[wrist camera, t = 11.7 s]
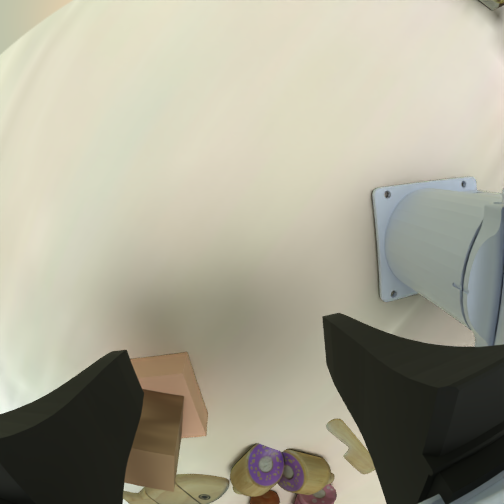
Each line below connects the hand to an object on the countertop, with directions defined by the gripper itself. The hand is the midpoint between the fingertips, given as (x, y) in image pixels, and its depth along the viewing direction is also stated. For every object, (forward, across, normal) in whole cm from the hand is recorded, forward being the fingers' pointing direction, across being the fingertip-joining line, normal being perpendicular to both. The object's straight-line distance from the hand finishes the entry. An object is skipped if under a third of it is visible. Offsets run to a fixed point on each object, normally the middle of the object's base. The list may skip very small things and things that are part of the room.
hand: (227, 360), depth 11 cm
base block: (+10, +7, +8) cm, 15 cm away
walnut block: (+7, +7, +8) cm, 13 cm away
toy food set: (+11, +3, +25) cm, 27 cm away
